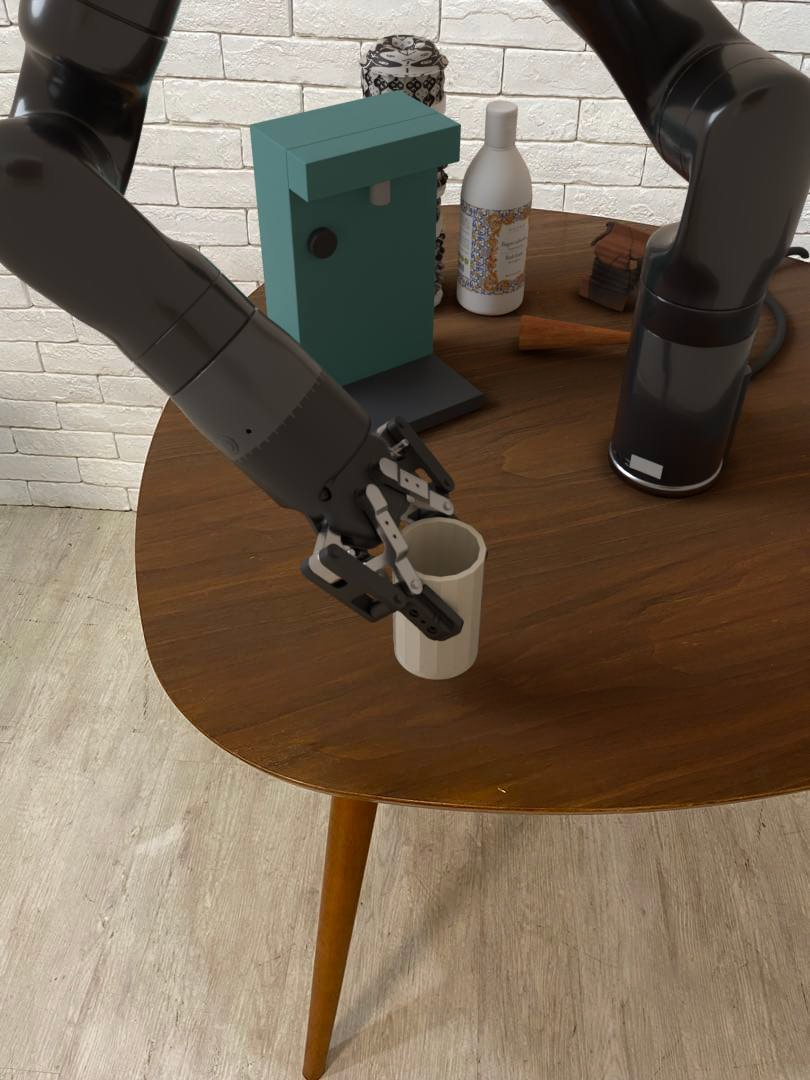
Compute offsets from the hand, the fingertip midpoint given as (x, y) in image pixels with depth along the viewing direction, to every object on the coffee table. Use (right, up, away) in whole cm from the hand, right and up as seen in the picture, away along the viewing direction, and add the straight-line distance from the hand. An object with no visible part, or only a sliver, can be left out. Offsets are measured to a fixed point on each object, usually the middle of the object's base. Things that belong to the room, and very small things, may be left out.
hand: (465, 596), depth 65 cm
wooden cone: (+17, +21, +36) cm, 45 cm away
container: (-2, -4, +4) cm, 6 cm away
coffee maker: (-7, +18, +32) cm, 37 cm away
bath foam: (+5, +28, +44) cm, 53 cm away
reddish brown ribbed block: (+20, +29, +45) cm, 57 cm away
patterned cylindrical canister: (-4, +29, +45) cm, 54 cm away
